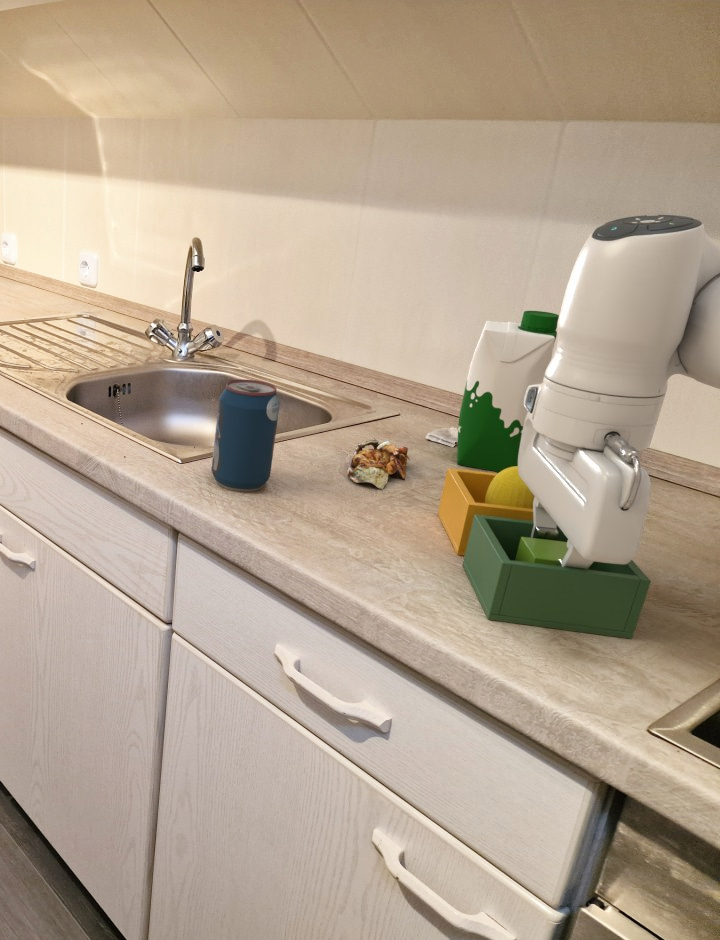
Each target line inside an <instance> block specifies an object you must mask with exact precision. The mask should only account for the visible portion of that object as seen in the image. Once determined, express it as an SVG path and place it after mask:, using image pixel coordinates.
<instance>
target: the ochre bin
mask: <svg viewBox="0 0 720 940" xmlns="http://www.w3.org/2000/svg"><path fill="white" fill-rule="evenodd" d="M498 473H499V472H490V471H480V470H471V469H461V468H453V467H447V470H446V474H445V479H444V483H443V488H442V491H441V497H440V500H439V501H440V502H439V506H438V510H437V516H438V518H439V520H440V522H441V524H442V526H443V528H444V530H445V533H446V534H447V537H448V539H449V541H450V544H451V545H452V547H453V549H454V552H455V553H456V555H457V556H465V552H466V548H467V544H468V540H469V535H470V531H471V527H472V523H473V519H474V515H475V514H477V515H486V516H494V517H503V518H512V519H521V520H529V521H533V509H529V508H520V507H511V506H502V505H494V504H485V497H486V493H487V490H488V488H489V485H490V483H491V482H492V480H493V478H494V477H495V476H496V475H497V474H498Z"/></svg>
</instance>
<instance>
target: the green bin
mask: <svg viewBox="0 0 720 940" xmlns="http://www.w3.org/2000/svg"><path fill="white" fill-rule="evenodd" d="M533 525H534V523H533V521H529V520H521V519H512V518H503V517H494V516H486V515H477V514H475V515H474V519H473V523H472V527H471V531H470V535H469V540H468V544H467V548H466V552H465V556H464V557H463V561H462V565H461V566H462V568H463V570H464V572H465V574H466V576H467V578H468V580H469V582H470V585H471V587H472V589H473V591H474V593H475V595H476V597H477V599H478V602H479V604H480V606H481V608H482V610H483V613H484V614H485V616H486V618H487V620H489V621H495V622H504V623H511V624H519V625H527V626H534V627H539V628H541V627H542V628H549V629H554V630H555V629H556V630H562V631H563V630H564V631H570V632H579V633H587V634H593V635H599V636H600V635H601V636H608V637H616V638H623V639H630V640H631V639H632V638H633V637H634V633H635V631H636V627H637V624H638V621H639V619H640V616H641V613H642V610H643V608H644V603H645V601H646V598H647V595H648V592H649V589H650V585H651V583H652V580H651V579H650V578H649V577H648V575H646V574H645V572H644V571H643V570H642V568H640V567H639V566H638V565H637V563H636V562H635V561H634V559H632V560H631V561H630V562H629V563H628V564H611V563H602V562H595V561H594V562H593V563H592V564H591V565H590V566H589V570H586V569H578V568H570V567H562V566H553V565H545V564H537V563H529V562H521V561H515V558H516V554H517V551H518V547H519V543H520V539H521V537H528V538H531V533H532V529H533ZM556 529H557V531H558V532H559V534H558V537H557V540H556V541H562V542H567V541H568V538H567V537H566V536H565V534H564V533H563V532H562V531H561V529H560V528H559V527H558V525H557V528H556Z"/></svg>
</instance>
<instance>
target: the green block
mask: <svg viewBox="0 0 720 940" xmlns="http://www.w3.org/2000/svg"><path fill="white" fill-rule="evenodd" d="M568 549H569V548H567V542H562V541H553V540H545V539H536V538H528V537H521V539H520V543H519V547H518V551H517V554H516V558H515V561H521V562H529V563H537V564H545V565H553V566H557V563H558V560H559V559H564V557H565V555H566V553H567V551H568ZM586 570H589V568H588V569H586Z"/></svg>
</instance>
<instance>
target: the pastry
mask: <svg viewBox="0 0 720 940" xmlns="http://www.w3.org/2000/svg"><path fill="white" fill-rule="evenodd" d="M367 446H372V447H373V448H367V449H365V447H367ZM353 452H354V453H353V455H352V456H351V457H350V461H349V464H348V468H347V473H346V475H347V477H348V479H349V480H352V482H355V483H370V484H372V485H374V486H375V487H376V488H378V489H380V490H384V488H385V486H386V485H387V484H388V480H389V475H393V474H395V473H396V472H397V471H398V472H399V474H400V475H401V477H402V480H406V474H407V473H408V469H407V466H406V465H407V462H408V461H409V462H411V460H410V457H409V456H408V452H409V449H408V447H407V446H399V447H397V446H395V445H393V444H392V443H391V441H389V440H386V441H384V442H380V443H379V440H377V439H376V438H375V437H371V438H370V439H369V440H365V441H364V442H363V443H361V442H360V443H358V444H357V445H356V447H355V450H354V451H353Z"/></svg>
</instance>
